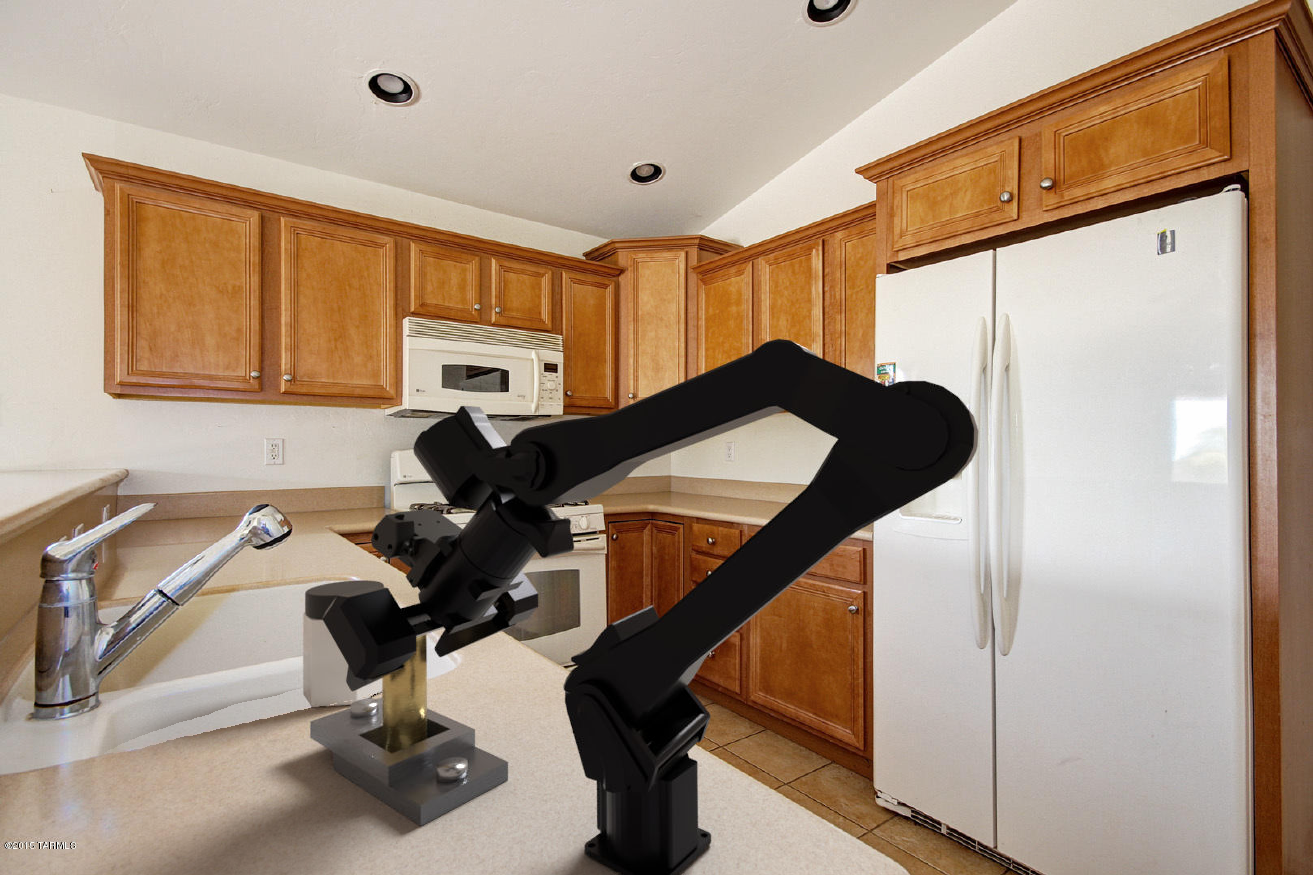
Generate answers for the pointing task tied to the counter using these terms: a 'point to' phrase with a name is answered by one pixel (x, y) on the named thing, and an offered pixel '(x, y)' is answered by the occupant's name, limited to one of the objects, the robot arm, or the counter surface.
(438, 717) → the grey clamp plate
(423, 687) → the pin
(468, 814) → the counter surface
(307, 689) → the jar
